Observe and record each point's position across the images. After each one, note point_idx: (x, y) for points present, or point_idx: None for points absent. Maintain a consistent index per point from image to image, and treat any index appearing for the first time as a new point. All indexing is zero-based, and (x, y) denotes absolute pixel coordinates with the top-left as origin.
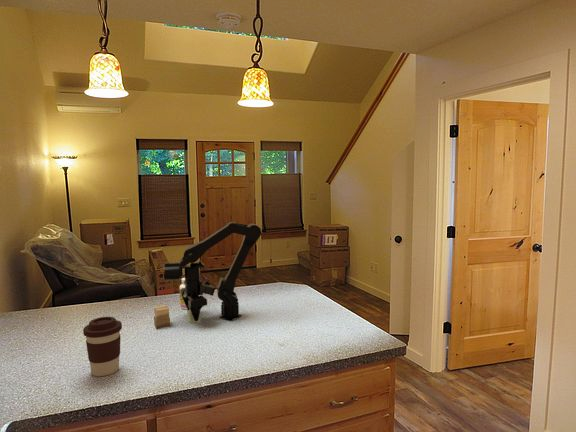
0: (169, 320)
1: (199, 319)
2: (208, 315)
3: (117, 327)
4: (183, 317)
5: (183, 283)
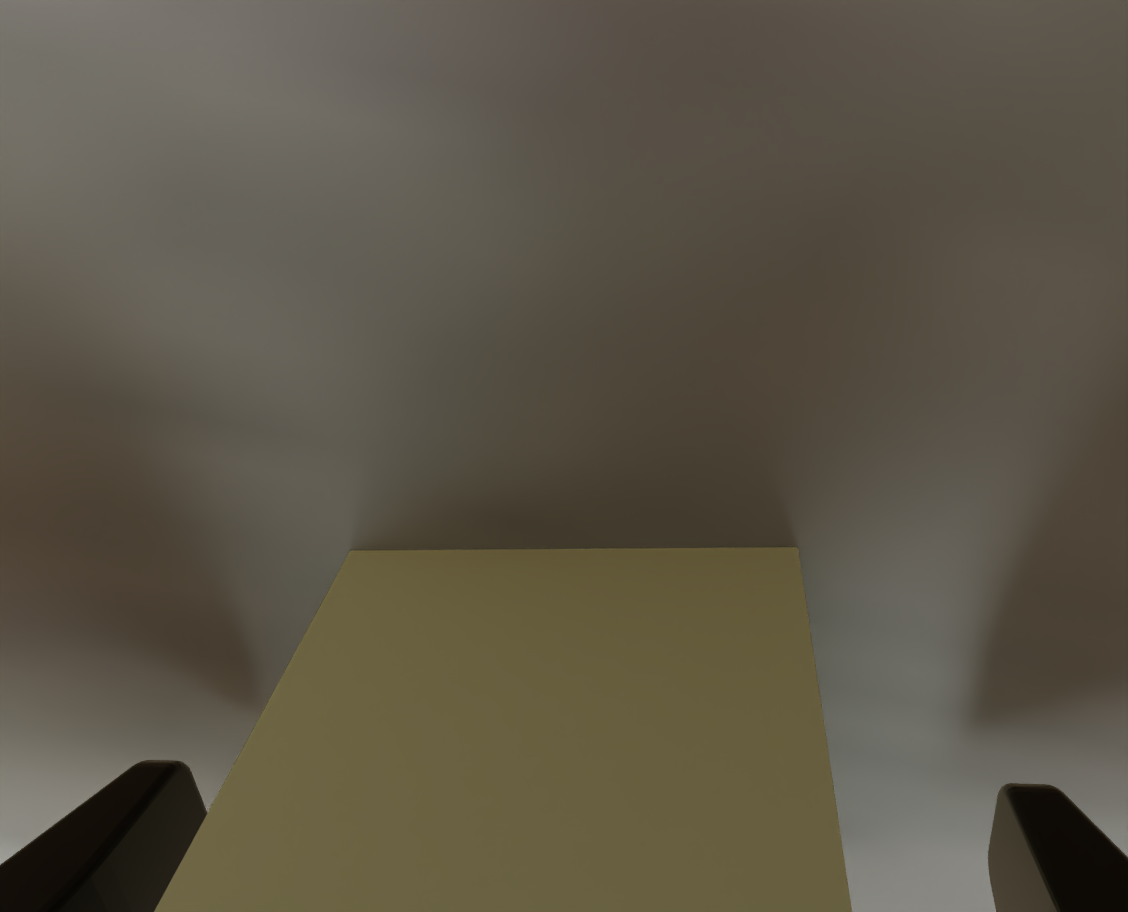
0: None
1: (807, 641)
2: (92, 15)
3: None
4: None
5: None
